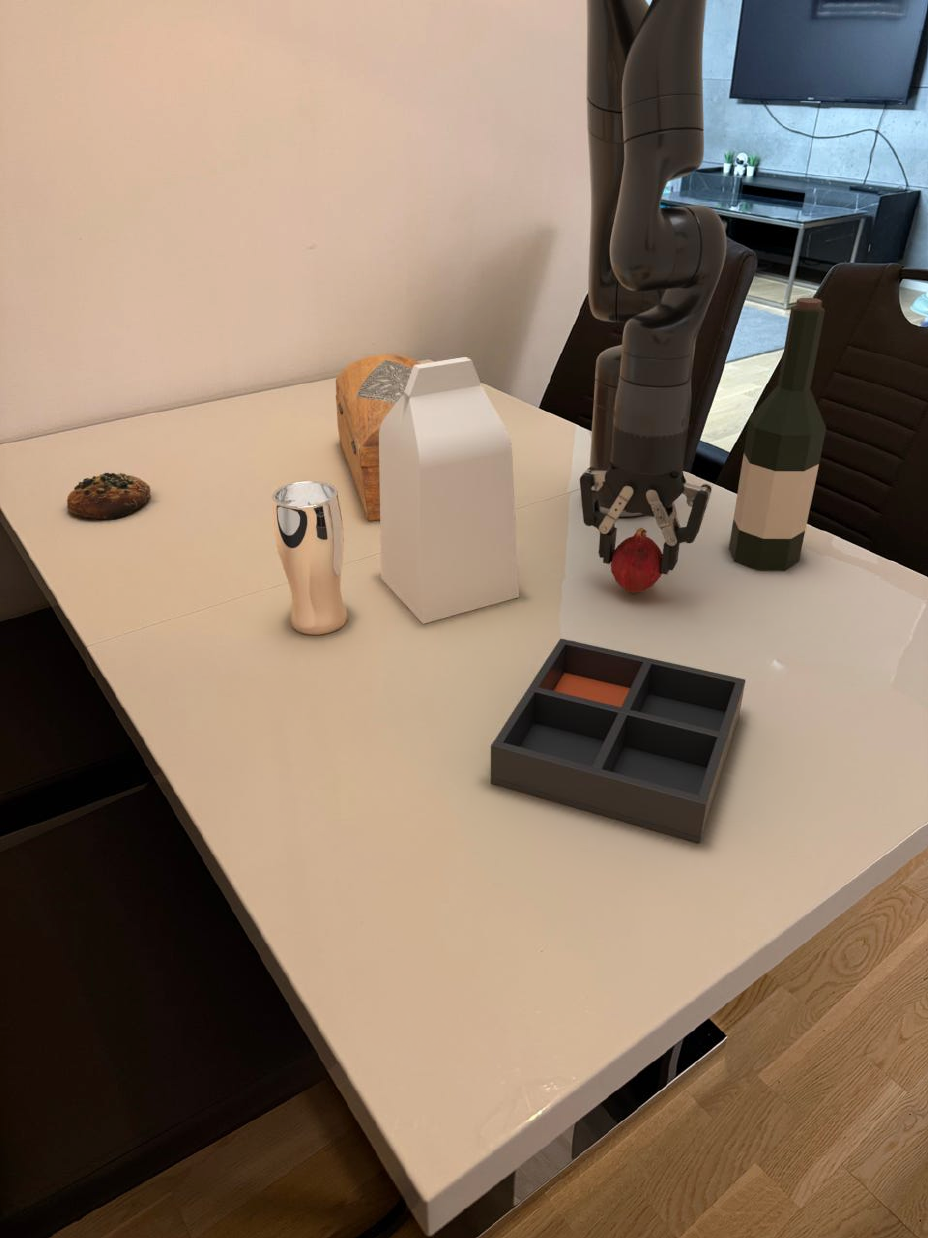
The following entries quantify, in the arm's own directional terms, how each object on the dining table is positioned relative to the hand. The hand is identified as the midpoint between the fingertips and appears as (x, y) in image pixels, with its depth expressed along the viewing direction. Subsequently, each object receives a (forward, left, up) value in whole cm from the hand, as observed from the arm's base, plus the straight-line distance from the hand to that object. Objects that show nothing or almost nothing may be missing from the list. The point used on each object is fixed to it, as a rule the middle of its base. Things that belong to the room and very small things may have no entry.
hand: (636, 565), depth 102 cm
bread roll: (+4, -73, -4) cm, 73 cm away
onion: (0, 0, -4) cm, 4 cm away
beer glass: (+19, -30, -4) cm, 36 cm away
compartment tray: (+27, +6, -4) cm, 28 cm away
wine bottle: (-15, +12, -4) cm, 20 cm away
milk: (+7, -20, -4) cm, 21 cm away
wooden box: (-21, -40, -4) cm, 45 cm away
